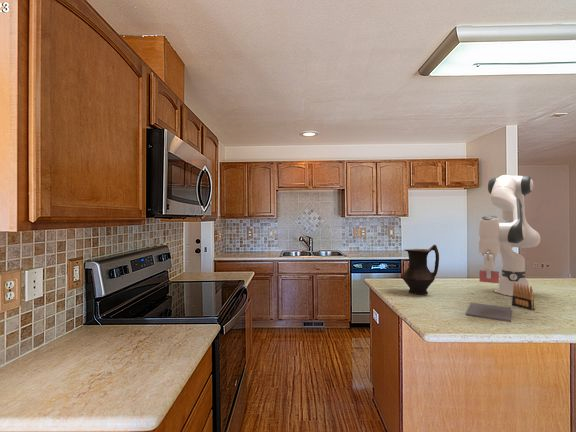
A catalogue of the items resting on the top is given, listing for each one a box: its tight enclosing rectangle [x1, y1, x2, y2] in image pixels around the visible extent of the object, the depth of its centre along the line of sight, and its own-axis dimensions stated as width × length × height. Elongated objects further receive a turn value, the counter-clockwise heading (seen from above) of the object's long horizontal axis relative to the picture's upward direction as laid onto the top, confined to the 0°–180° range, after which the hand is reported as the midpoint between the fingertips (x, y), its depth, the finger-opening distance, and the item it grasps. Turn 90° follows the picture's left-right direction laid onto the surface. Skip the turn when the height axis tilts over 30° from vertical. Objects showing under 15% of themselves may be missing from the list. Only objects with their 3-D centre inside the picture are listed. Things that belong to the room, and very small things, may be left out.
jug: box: [401, 244, 440, 296], centre depth 206 cm, size 21×18×30 cm
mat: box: [465, 302, 512, 322], centre depth 168 cm, size 24×18×1 cm
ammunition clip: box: [511, 283, 535, 311], centre depth 176 cm, size 11×2×12 cm, turn 17°
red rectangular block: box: [478, 269, 500, 284], centre depth 168 cm, size 8×4×5 cm, turn 57°
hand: (489, 277), depth 168 cm, fingers closed on red rectangular block, 4 cm apart
